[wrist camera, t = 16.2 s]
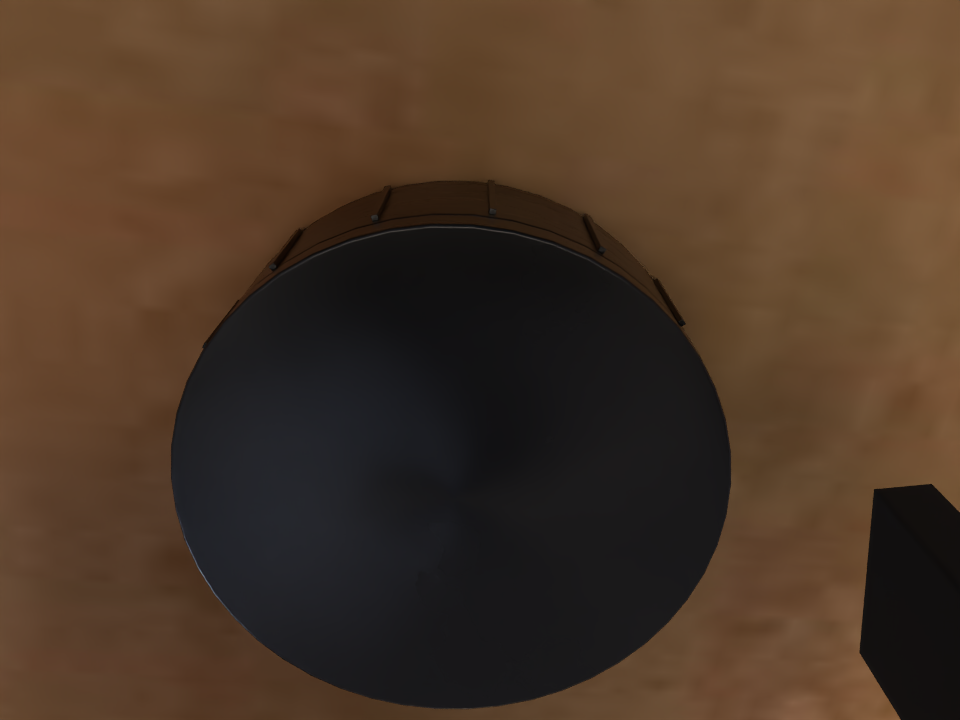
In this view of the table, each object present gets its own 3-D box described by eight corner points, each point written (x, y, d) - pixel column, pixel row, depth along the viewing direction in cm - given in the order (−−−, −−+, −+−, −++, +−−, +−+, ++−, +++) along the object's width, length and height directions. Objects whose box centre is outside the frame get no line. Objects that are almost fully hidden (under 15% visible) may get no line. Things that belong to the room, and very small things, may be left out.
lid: (129, 309, 16) (53, 377, 13) (579, 90, 15) (603, 113, 12) (363, 656, 19) (342, 771, 16) (751, 505, 18) (804, 604, 15)
